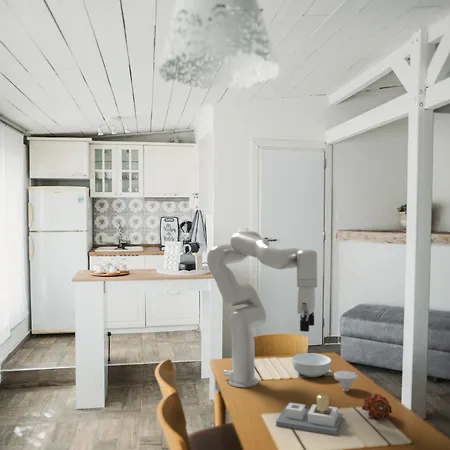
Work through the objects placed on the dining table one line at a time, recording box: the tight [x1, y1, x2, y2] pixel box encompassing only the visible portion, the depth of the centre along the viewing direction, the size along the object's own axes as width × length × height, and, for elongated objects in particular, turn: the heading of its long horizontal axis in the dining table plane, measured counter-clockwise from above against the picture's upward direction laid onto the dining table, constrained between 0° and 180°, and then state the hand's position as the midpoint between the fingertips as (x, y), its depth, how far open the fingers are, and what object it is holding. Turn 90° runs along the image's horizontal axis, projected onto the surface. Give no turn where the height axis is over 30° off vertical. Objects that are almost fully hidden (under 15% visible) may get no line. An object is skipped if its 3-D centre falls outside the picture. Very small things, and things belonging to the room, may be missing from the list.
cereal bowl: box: [291, 352, 332, 378], centre depth 211 cm, size 17×17×7 cm
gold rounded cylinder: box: [316, 393, 330, 415], centre depth 162 cm, size 4×4×8 cm
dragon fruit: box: [361, 393, 393, 421], centre depth 167 cm, size 8×8×12 cm
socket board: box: [275, 402, 343, 436], centre depth 163 cm, size 20×14×4 cm
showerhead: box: [333, 370, 359, 392], centre depth 192 cm, size 9×7×10 cm
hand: (307, 328), depth 179 cm, fingers open, 9 cm apart
